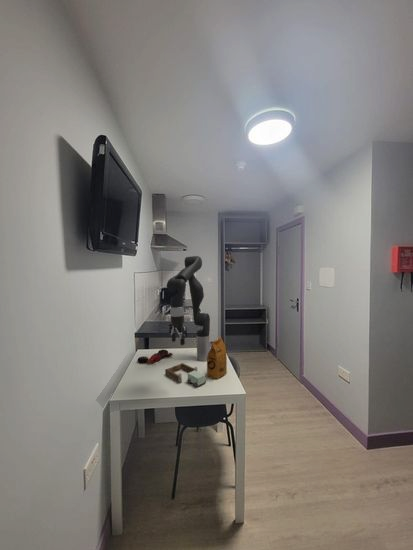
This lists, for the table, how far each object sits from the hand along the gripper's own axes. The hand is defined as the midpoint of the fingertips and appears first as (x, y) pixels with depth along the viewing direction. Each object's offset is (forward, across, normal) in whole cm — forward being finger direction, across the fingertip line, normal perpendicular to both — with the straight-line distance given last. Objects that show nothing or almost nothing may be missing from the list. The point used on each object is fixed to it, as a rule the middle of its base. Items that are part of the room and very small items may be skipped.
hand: (178, 343), depth 131 cm
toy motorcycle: (+25, +42, -10) cm, 50 cm away
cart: (+24, -5, -9) cm, 26 cm away
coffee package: (+24, -5, -25) cm, 35 cm away
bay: (+24, +9, -8) cm, 27 cm away
